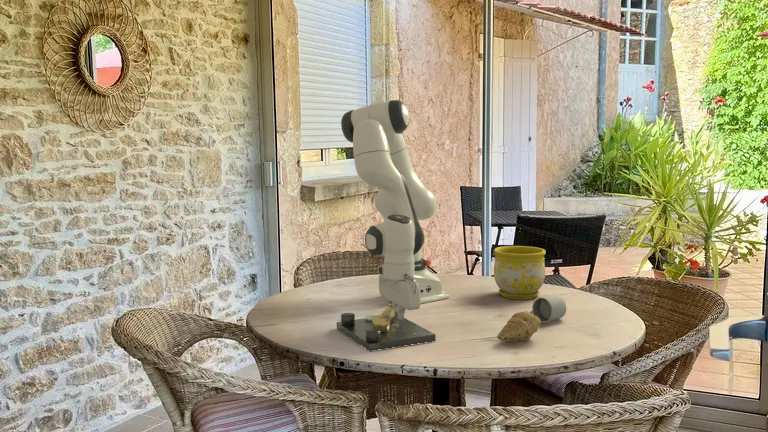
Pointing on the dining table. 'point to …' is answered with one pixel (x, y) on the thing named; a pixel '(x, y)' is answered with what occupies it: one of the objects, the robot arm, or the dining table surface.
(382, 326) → the lever
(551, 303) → the ceramic mug
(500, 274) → the flowerpot
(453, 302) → the dining table surface
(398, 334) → the base
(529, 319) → the seashell
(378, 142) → the robot arm
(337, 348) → the dining table surface
